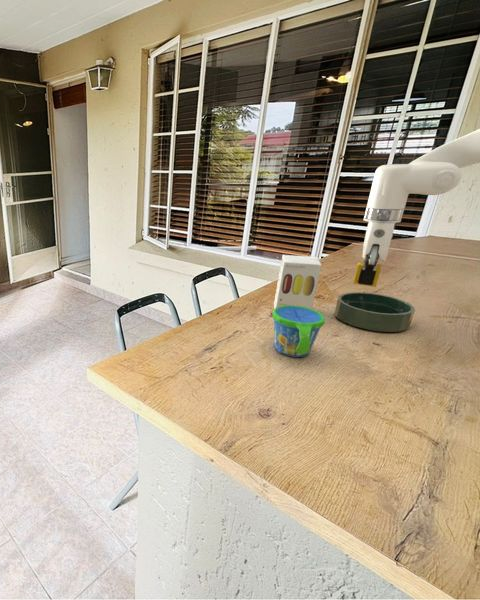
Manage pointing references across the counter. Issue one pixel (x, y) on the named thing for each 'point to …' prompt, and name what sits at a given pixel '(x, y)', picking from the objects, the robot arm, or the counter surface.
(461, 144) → the robot arm
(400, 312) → the basin
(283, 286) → the supplement box
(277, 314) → the snack cup
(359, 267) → the sponge
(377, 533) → the counter surface
